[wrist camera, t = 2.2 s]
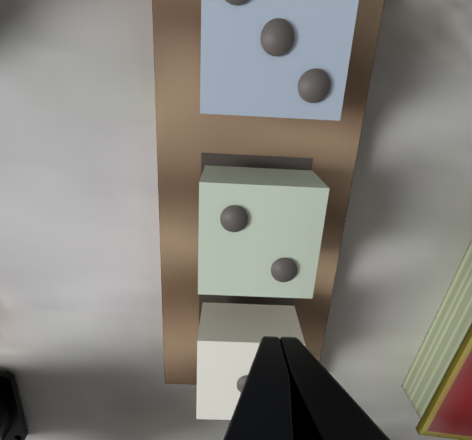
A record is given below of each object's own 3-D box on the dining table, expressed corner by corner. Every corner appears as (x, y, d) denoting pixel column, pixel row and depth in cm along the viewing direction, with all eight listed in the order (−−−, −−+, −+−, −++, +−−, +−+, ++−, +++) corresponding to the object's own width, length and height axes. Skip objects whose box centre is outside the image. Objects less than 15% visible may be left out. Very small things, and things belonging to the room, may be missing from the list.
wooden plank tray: (310, 370, 24) (315, 388, 23) (168, 366, 24) (164, 384, 22) (383, -64, 15) (399, -80, 14) (156, -79, 15) (148, -98, 13)
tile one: (284, 375, 20) (293, 424, 17) (201, 373, 20) (196, 421, 17) (294, 305, 19) (306, 346, 16) (202, 302, 18) (196, 342, 16)
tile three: (319, 114, 15) (341, 121, 12) (206, 108, 15) (199, 113, 12) (338, -21, 13) (368, -52, 10) (208, -29, 13) (201, -63, 10)
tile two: (299, 265, 18) (313, 300, 15) (203, 261, 18) (197, 295, 15) (312, 170, 16) (330, 189, 13) (205, 165, 16) (198, 183, 13)
